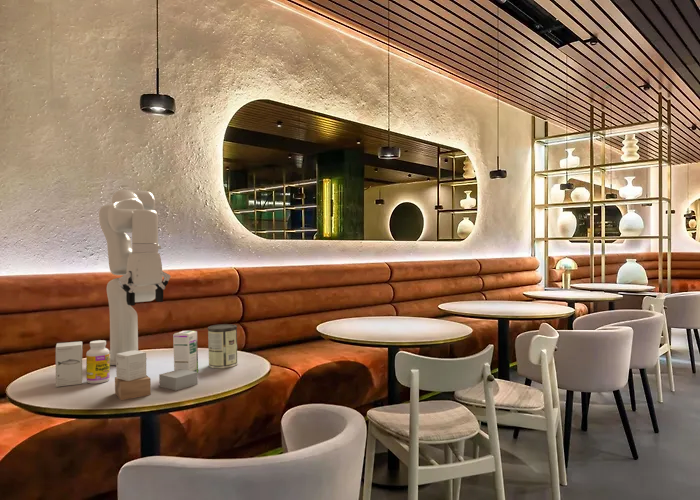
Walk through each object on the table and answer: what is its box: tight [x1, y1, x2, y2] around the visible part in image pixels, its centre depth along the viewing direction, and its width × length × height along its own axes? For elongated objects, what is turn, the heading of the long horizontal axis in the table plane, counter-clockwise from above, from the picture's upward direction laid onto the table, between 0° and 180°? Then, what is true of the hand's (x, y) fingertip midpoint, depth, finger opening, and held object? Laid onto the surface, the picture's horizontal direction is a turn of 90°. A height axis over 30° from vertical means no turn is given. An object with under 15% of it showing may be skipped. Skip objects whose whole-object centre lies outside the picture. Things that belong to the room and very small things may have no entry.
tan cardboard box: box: [114, 375, 152, 401], centre depth 143 cm, size 8×8×5 cm
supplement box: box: [55, 341, 83, 388], centre depth 155 cm, size 7×7×13 cm
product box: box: [115, 350, 148, 381], centre depth 143 cm, size 6×6×7 cm
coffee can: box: [207, 323, 238, 369], centre depth 177 cm, size 10×10×14 cm
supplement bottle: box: [85, 339, 111, 384], centre depth 157 cm, size 7×7×13 cm
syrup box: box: [172, 330, 199, 374], centre depth 164 cm, size 6×6×14 cm
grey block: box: [158, 369, 199, 391], centre depth 152 cm, size 8×8×4 cm
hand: (145, 303), depth 154 cm, fingers open, 9 cm apart
